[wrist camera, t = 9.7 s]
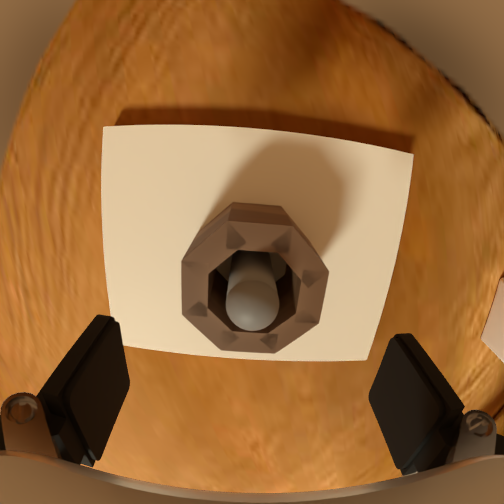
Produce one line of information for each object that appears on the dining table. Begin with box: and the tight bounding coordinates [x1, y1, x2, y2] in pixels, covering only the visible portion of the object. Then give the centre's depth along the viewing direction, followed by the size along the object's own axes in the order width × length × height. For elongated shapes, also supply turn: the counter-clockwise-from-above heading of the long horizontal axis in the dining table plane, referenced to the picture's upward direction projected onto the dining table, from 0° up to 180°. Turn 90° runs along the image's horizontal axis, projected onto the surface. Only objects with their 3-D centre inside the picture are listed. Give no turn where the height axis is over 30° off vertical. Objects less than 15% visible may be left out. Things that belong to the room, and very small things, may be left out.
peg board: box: [101, 125, 414, 361], centre depth 17 cm, size 20×16×9 cm
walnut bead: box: [181, 202, 329, 354], centre depth 17 cm, size 7×7×5 cm
